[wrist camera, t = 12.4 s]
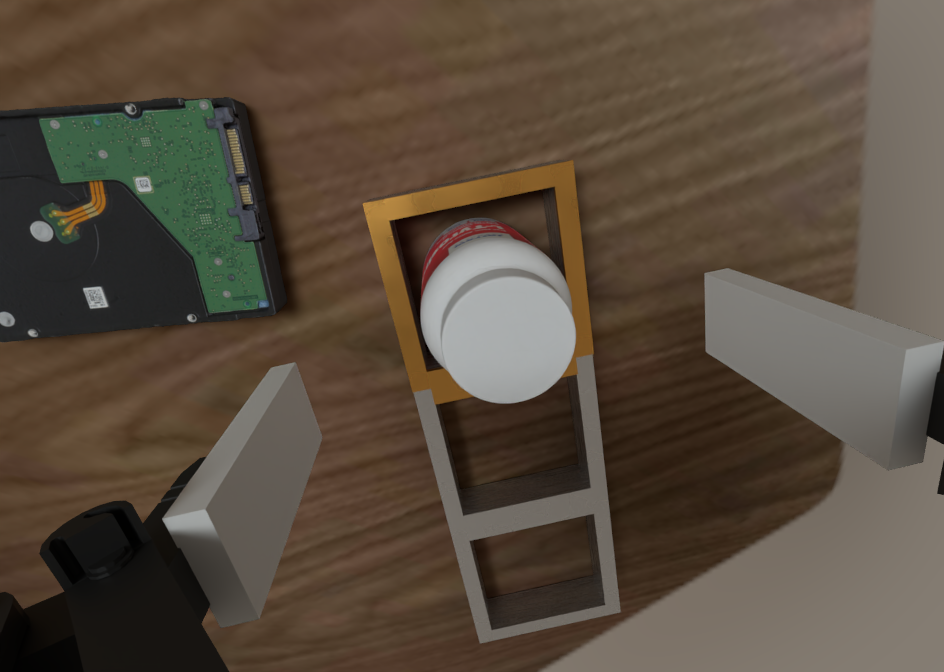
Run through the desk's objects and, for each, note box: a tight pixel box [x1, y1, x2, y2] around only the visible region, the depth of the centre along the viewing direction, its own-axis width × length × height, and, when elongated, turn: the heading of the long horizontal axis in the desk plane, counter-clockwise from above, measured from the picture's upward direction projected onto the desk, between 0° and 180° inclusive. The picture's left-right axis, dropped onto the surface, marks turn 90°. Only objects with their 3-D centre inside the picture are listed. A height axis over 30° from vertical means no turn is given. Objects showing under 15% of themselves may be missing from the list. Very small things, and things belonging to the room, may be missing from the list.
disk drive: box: [0, 97, 287, 342], centre depth 23 cm, size 10×3×15 cm
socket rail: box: [363, 160, 621, 643], centre depth 29 cm, size 10×30×3 cm, turn 11°
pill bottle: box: [420, 218, 576, 403], centre depth 21 cm, size 6×6×11 cm
